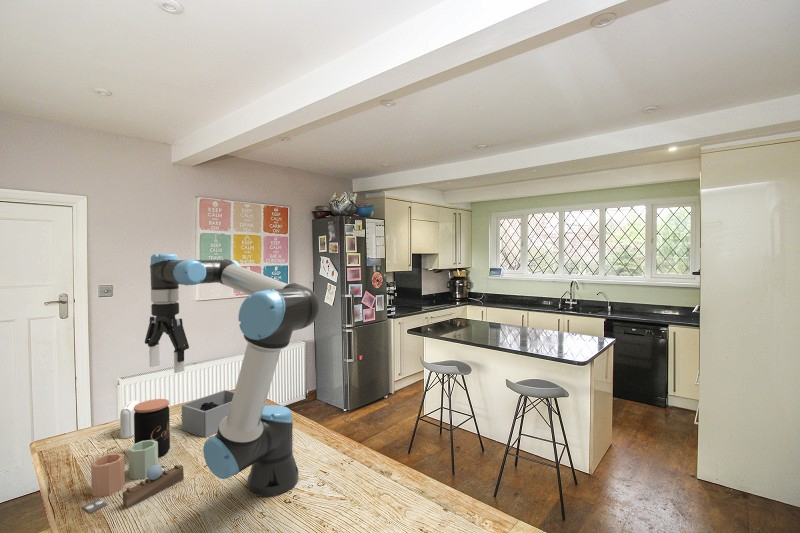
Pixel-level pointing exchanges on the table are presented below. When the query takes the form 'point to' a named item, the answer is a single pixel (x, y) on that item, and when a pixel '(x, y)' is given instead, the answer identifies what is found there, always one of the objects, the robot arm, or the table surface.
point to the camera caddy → (206, 413)
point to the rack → (152, 486)
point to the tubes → (120, 471)
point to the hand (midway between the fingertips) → (166, 369)
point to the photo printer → (127, 419)
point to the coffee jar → (153, 423)
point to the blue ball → (154, 472)
